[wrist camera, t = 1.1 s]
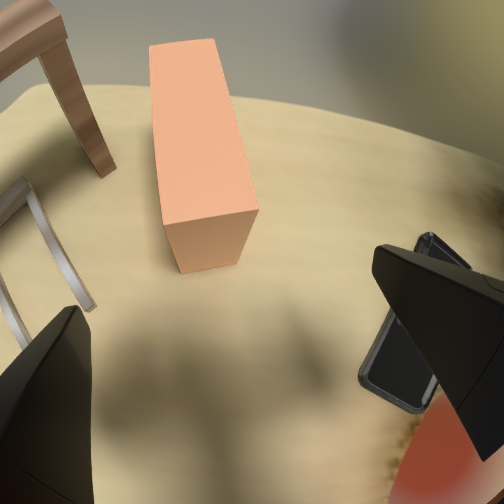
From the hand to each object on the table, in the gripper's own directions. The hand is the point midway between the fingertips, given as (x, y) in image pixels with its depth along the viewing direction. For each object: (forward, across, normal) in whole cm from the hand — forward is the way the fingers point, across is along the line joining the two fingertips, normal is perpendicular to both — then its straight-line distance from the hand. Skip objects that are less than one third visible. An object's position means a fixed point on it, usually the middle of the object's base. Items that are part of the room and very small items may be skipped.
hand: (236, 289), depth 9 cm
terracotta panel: (+16, 0, +2) cm, 16 cm away
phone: (+7, -17, +13) cm, 22 cm away
